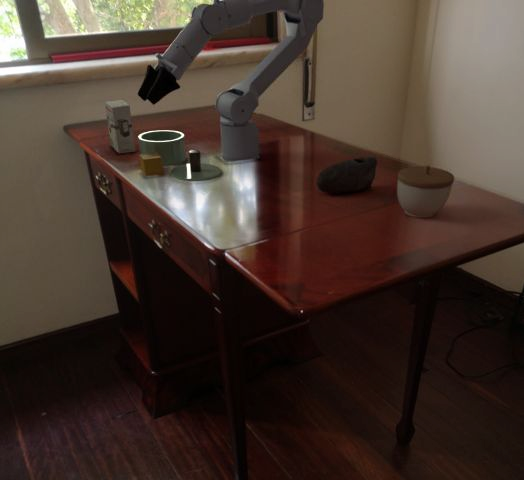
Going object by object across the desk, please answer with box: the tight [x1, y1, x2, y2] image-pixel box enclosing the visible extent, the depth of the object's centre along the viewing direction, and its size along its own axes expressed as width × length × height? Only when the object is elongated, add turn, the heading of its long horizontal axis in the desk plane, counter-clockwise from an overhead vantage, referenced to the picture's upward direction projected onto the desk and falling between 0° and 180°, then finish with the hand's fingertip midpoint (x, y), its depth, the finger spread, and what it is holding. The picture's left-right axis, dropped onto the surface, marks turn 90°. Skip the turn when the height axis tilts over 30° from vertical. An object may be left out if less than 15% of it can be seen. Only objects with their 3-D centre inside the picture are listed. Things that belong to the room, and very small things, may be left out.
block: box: [138, 153, 164, 177], centre depth 127 cm, size 4×4×4 cm
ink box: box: [104, 99, 136, 154], centre depth 143 cm, size 9×5×12 cm, turn 27°
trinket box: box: [396, 164, 455, 219], centre depth 106 cm, size 11×11×9 cm
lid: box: [169, 149, 222, 182], centre depth 127 cm, size 12×12×6 cm
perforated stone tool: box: [316, 156, 378, 194], centre depth 117 cm, size 15×5×7 cm, turn 110°
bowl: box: [137, 129, 187, 167], centre depth 135 cm, size 11×11×6 cm
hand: (145, 99), depth 121 cm, fingers open, 7 cm apart
